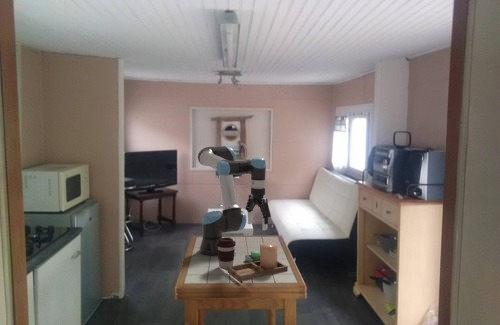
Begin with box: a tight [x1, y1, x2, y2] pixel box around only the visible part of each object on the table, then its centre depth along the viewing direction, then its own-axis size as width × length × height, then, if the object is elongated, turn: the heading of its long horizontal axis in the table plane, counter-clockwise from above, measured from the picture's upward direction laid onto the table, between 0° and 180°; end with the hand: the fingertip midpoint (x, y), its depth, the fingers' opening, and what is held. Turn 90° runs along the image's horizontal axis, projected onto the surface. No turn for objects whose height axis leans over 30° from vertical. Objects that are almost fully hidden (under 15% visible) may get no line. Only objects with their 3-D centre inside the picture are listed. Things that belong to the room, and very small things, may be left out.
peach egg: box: [259, 242, 279, 270], centre depth 198 cm, size 9×9×12 cm
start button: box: [250, 250, 260, 259], centre depth 208 cm, size 5×5×3 cm
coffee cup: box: [217, 237, 237, 270], centre depth 202 cm, size 10×10×15 cm
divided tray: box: [227, 260, 289, 284], centre depth 195 cm, size 14×27×3 cm, turn 119°
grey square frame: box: [244, 253, 260, 263], centre depth 208 cm, size 8×8×4 cm
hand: (257, 226), depth 205 cm, fingers open, 13 cm apart
